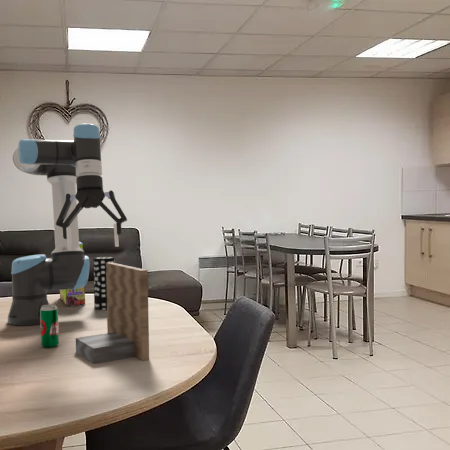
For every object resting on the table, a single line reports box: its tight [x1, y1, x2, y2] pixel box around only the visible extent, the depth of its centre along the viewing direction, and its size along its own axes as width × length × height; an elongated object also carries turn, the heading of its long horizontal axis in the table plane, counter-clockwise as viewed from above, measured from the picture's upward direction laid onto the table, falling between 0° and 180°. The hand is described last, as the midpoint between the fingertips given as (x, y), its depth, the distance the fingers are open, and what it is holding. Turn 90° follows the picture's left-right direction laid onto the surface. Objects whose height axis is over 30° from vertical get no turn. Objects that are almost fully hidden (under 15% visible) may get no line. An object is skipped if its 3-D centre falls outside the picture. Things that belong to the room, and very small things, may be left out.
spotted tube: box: [92, 256, 116, 311], centre depth 225 cm, size 8×8×20 cm
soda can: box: [39, 303, 60, 349], centre depth 167 cm, size 5×5×12 cm
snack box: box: [59, 241, 86, 306], centre depth 241 cm, size 22×9×26 cm, turn 23°
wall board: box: [75, 262, 150, 364], centre depth 157 cm, size 24×14×24 cm, turn 34°
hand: (93, 248), depth 165 cm, fingers open, 13 cm apart
